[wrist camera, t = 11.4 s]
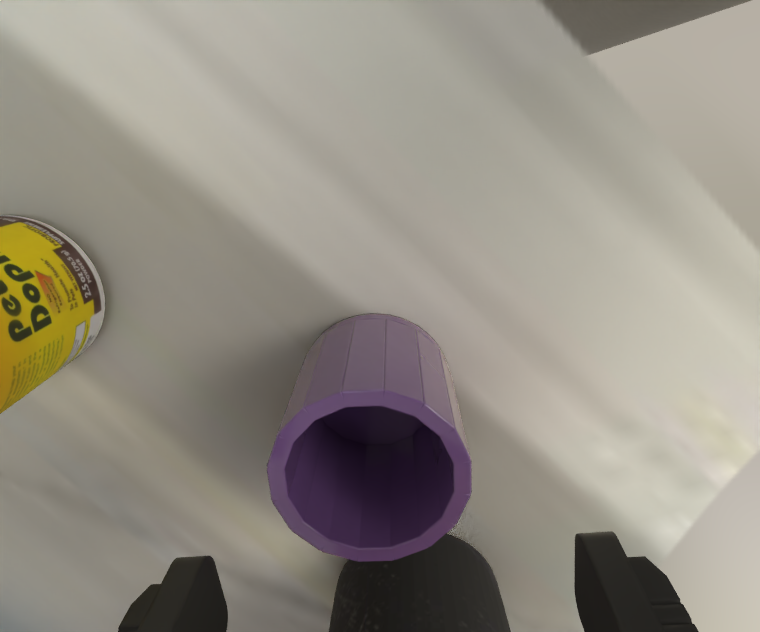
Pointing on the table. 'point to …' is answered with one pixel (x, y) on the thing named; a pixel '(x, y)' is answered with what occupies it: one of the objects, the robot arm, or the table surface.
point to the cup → (372, 443)
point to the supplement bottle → (43, 304)
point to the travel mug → (420, 593)
